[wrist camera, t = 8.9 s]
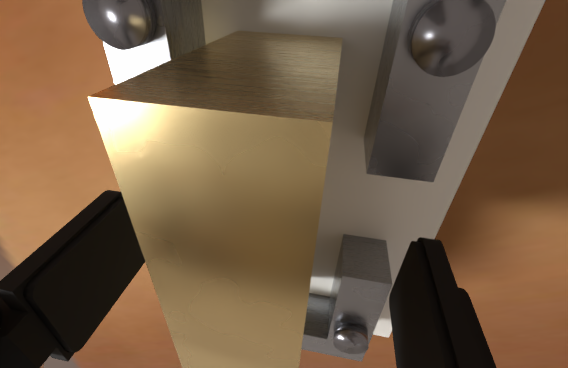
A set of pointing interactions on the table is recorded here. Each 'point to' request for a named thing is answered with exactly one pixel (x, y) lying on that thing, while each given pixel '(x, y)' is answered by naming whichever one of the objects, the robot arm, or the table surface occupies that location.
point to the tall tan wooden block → (228, 188)
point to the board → (354, 114)
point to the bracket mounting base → (379, 130)
